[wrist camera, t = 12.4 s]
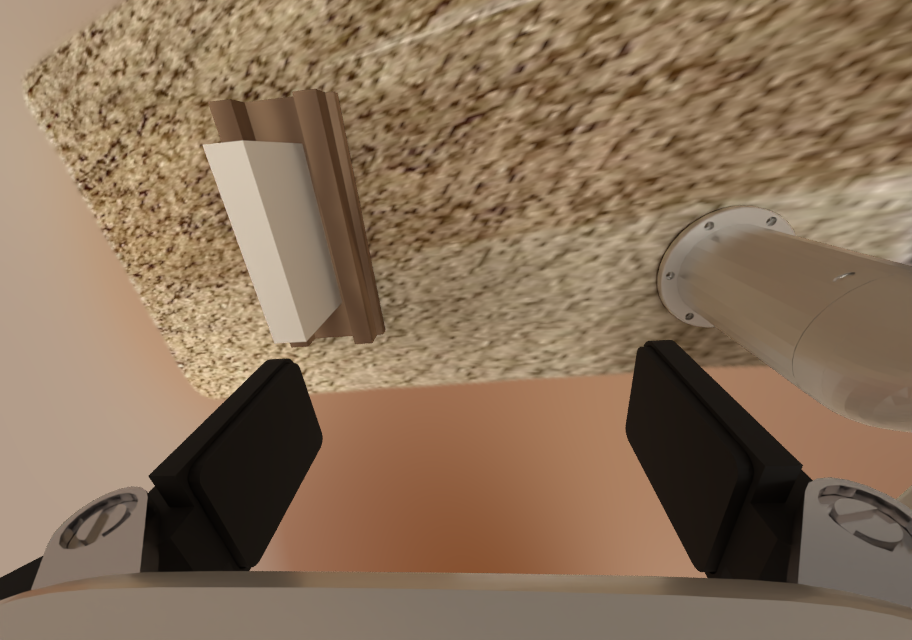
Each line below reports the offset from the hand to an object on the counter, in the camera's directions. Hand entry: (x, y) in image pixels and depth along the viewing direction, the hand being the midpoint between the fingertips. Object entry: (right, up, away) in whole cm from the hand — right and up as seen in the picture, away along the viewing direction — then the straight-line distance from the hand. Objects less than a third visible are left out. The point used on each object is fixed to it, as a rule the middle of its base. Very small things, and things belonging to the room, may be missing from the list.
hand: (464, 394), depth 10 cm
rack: (-15, +11, +27) cm, 33 cm away
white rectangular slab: (-15, +11, +26) cm, 32 cm away
